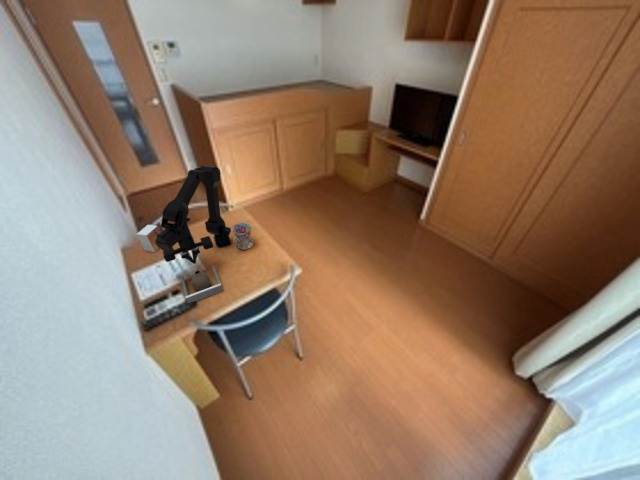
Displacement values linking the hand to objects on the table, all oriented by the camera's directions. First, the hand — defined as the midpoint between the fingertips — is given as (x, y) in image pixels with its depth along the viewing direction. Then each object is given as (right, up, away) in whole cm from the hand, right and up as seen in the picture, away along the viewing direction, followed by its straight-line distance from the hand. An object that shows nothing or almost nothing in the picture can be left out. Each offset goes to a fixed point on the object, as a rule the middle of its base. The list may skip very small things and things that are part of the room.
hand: (194, 263), depth 116 cm
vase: (+5, -10, -4) cm, 12 cm away
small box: (-27, +7, +16) cm, 32 cm away
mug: (+17, +6, +17) cm, 24 cm away
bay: (+5, -9, -3) cm, 11 cm away
